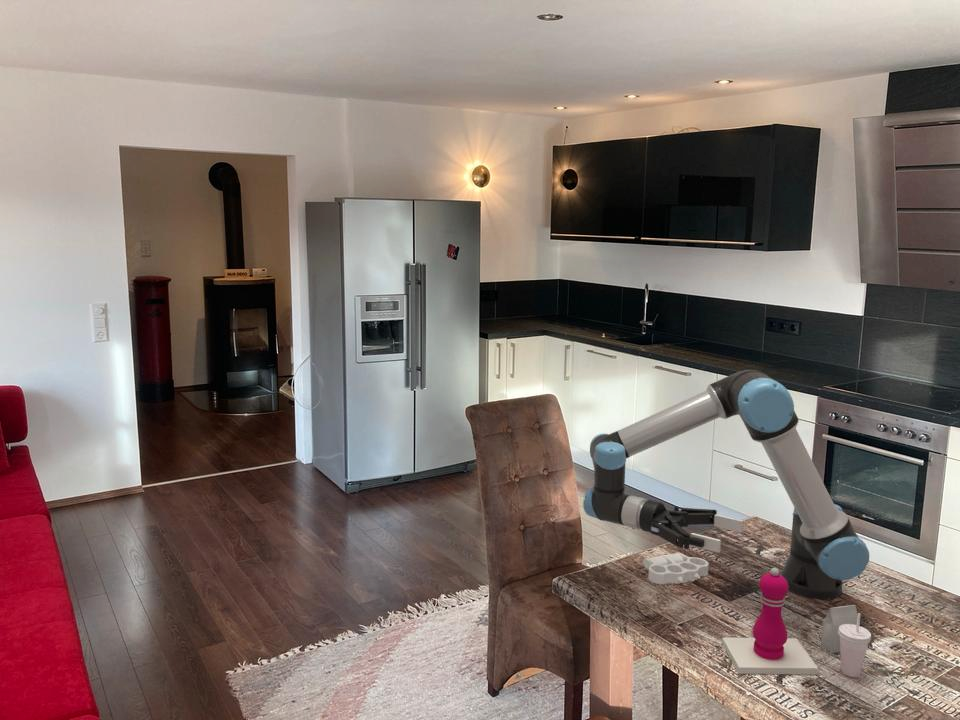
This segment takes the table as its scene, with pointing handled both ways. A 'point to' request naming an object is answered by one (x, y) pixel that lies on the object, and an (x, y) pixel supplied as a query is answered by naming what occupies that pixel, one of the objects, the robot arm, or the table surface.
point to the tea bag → (836, 626)
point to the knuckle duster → (675, 568)
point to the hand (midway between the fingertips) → (731, 536)
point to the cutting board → (752, 663)
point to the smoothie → (853, 647)
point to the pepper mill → (771, 617)
